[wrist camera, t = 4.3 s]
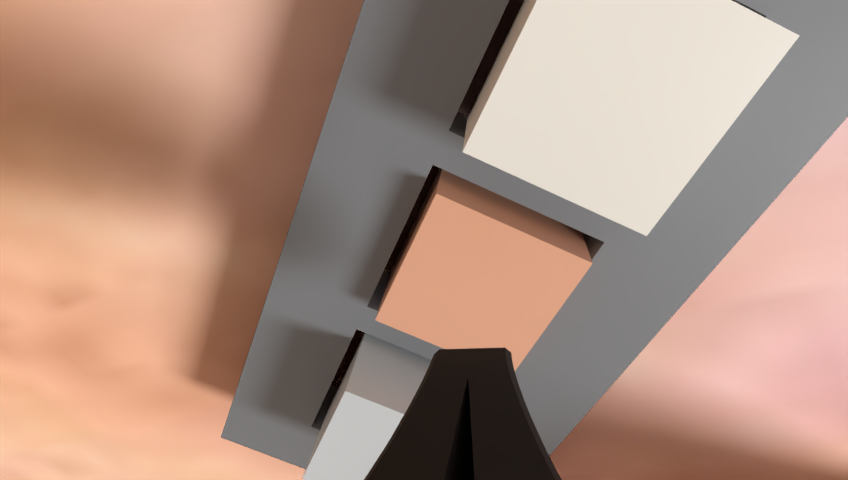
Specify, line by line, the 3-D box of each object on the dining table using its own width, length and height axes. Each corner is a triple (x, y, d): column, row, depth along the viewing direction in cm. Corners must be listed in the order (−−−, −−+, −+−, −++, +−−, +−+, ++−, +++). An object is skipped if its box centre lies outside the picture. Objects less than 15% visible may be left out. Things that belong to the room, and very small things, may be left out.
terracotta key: (575, 217, 14) (592, 263, 11) (507, 320, 16) (511, 376, 13) (444, 157, 13) (436, 193, 11) (391, 270, 15) (375, 320, 13)
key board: (902, -39, 10) (986, -42, 9) (480, 485, 20) (480, 534, 18) (475, -274, 9) (472, -331, 8) (245, 394, 19) (220, 437, 17)
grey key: (486, 379, 15) (486, 446, 13) (434, 454, 17) (426, 524, 15) (366, 329, 15) (345, 390, 13) (326, 412, 17) (302, 478, 14)
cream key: (731, 22, 10) (799, 35, 8) (617, 188, 12) (646, 236, 10) (555, -68, 10) (576, -81, 7) (467, 118, 11) (462, 152, 9)
